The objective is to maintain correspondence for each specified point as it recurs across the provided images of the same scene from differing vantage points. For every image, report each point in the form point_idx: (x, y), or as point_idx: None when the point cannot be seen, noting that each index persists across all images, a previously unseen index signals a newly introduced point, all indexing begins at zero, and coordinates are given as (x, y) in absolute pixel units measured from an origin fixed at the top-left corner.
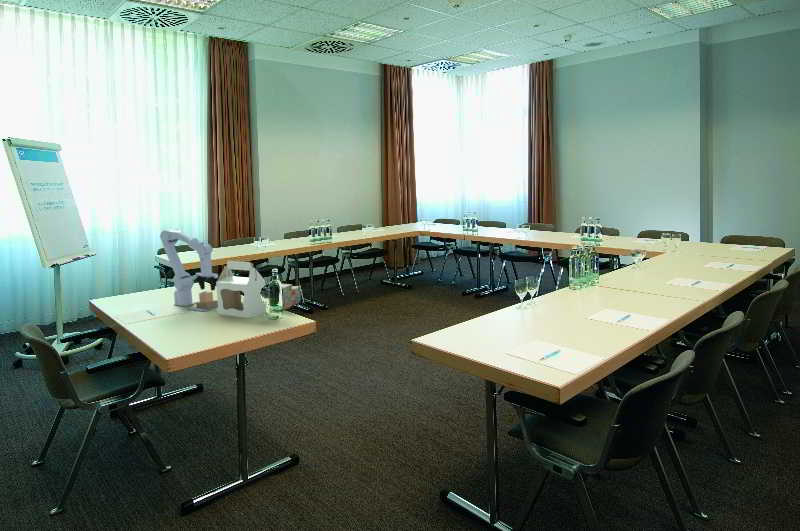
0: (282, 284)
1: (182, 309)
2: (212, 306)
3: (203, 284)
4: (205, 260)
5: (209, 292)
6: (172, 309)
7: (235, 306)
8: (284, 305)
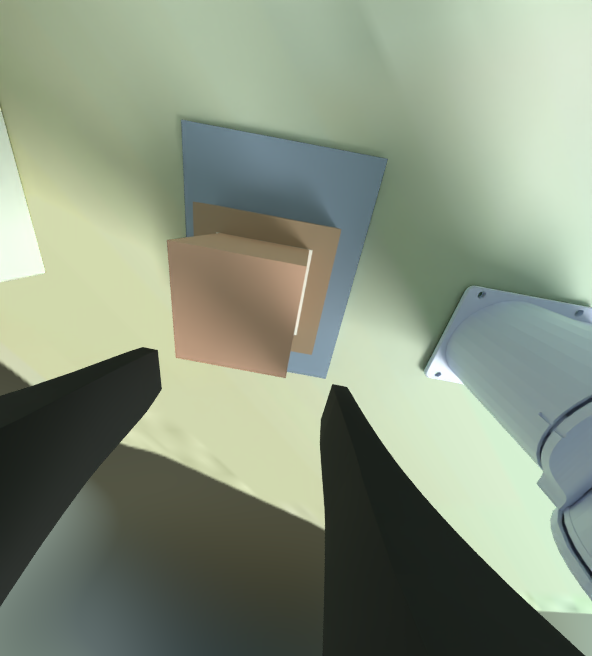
0: None
1: (454, 174)
2: None
3: (329, 479)
4: None
5: (184, 323)
6: (565, 153)
7: (20, 266)
8: None
